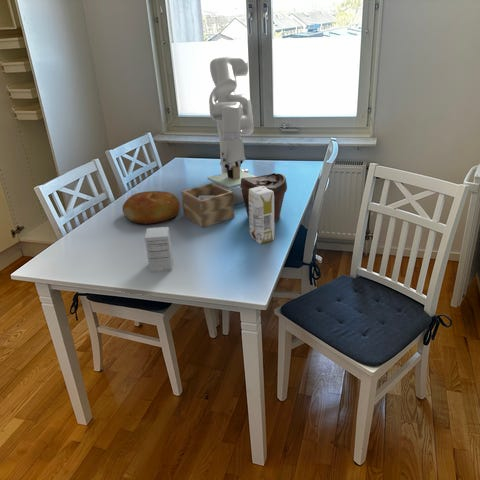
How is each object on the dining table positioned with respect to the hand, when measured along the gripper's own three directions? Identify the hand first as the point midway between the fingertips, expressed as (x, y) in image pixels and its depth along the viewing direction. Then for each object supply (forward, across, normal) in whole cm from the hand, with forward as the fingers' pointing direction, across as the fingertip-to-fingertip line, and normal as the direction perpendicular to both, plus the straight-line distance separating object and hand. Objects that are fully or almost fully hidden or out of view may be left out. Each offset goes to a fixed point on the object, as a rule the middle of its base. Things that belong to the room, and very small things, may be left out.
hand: (233, 176), depth 196 cm
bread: (+11, +38, -6) cm, 40 cm away
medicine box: (+11, +21, +11) cm, 26 cm away
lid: (+2, 0, 0) cm, 2 cm away
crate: (+10, +21, +11) cm, 25 cm away
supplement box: (+11, +55, +35) cm, 66 cm away
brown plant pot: (+11, +4, +26) cm, 28 cm away
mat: (+10, 0, 0) cm, 10 cm away
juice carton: (+11, +17, +41) cm, 45 cm away
